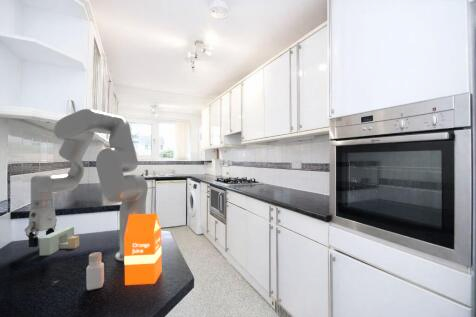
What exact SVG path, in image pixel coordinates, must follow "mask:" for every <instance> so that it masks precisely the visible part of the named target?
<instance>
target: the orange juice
mask: <svg viewBox="0 0 476 317" xmlns="http://www.w3.org/2000/svg"><path fill="white" fill-rule="evenodd" d="M124 250H125V256H124V261H123V263H124V285H125V286H132V285H133V286H135V285H149V284H150V285H151V284H152V285H153V284H156V282H157V281H158V279H159V277H160V276H161V274H162V271H163V270H162V269H163V268H162V261H163V260H162V227H161V224H160V221H159V217H158V213H146V214H132V215H129V218H128V222H127V227H126V231H125V235H124Z"/></svg>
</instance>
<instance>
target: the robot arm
mask: <svg viewBox="0 0 476 317" xmlns="http://www.w3.org/2000/svg"><path fill="white" fill-rule="evenodd" d="M53 133H54V136H55V137H56V138H58V139H59V140H61V141H62V140H63V143H62V145H61V146H60V148H59V150H58V154H59V156H60V157H61V158H62V159H64V160H65V161H68V162H70V163H71V164H70V165H71V166H70V169H69V170H68V172H67V173H66V174H54V175H53V174H51V175H50V174H49V175H42V174H41V175H33V176H32V177H31V178H30V210H29V216H28V225H27V227H26V228H25V229H24V233H25V235H26V236H27V239H28V247H29V248H37V247H39V236H38V234H39V233H40V232H44V231H45V236H46V235H48V234H50V233H53V232H55V231H56V226H57V220H58V218H56V209H55V205H54V193H55V194H56V193H61V192H68V191H73V190H74V189H76V188H77V187H78V186H79V184H80V182H81V181H82V179H83V177H84V174H85V166H84V163H83V157H84V156H85V153H86V151H87V149H88V148H89V146H90V144H91V142H92V141H93V139H94V138H93V137H94V136H95V133H97V134H98V133H99V134H106V135H109V137H108V143H109V147H106V148H103V149H102V150H100V151H99V152H98V154H97V156H96V159H95V165H96V166H95V167H96V171H97V175H98V180H99V184H100V188H101V191H102V195H103V196H104V198H105V199H106V201H108V202H110V203H114V204H116V203H118V204H119V203H121V204H120V207H119V217H118V218H119V251H118V252H117V253H115V255H114V256H115V259H116V261H120V262H124V256H125V250H124V235H125V231H126V227H127V222H128V218H129V215H132V214H147V212H146V211H147V195H148V190H149V188H148V187H149V186H148V182H147V180H146V179H145V178H144V177H143V176H141V175H139V174H128V175H124V174H125V173H131V172H133V171H136V169H137V167H138V166H139V162H138V156H137V152H136V148H135V145H134V142H133V138H132V134H131V133H132V132H131V127H130V123H129V122H128V120H127V119H126V118H124V117H123V116H119V115H115V114H111V113H107V112H103V111H99V110H96V109H90V108H84V109H83V108H82V109H79V110H77V111H75V112H73V113H71V114H67V115H66V116H64V117H61V118H59V120H58V121H57V122H56V123H55V125H54V128H53Z"/></svg>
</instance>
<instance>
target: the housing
mask: <svg viewBox="0 0 476 317" xmlns="http://www.w3.org/2000/svg"><path fill="white" fill-rule="evenodd" d="M72 236H75V227H74V226H65V227H62V228H60V229H58V230H54V232H53V233H50V234H48V235H46V234H45V235H44V236H43V235H42V236H41V237H38V248H39V256H52V254H55V253H56V252H58V251H59V250H60V249H59V245H58V243H64V242H68V238H70V237H72Z"/></svg>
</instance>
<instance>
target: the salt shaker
mask: <svg viewBox="0 0 476 317" xmlns="http://www.w3.org/2000/svg"><path fill="white" fill-rule="evenodd" d="M102 257H103V256H102V252H101V251H97V252H92V253H90V254H89V255H88V265H87V267H86V275H85V276H86V279H85V280H86V290H87V291H92V290H96V289H101V288H102V287H103V285H104V283H105V263H104V262H102Z"/></svg>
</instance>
